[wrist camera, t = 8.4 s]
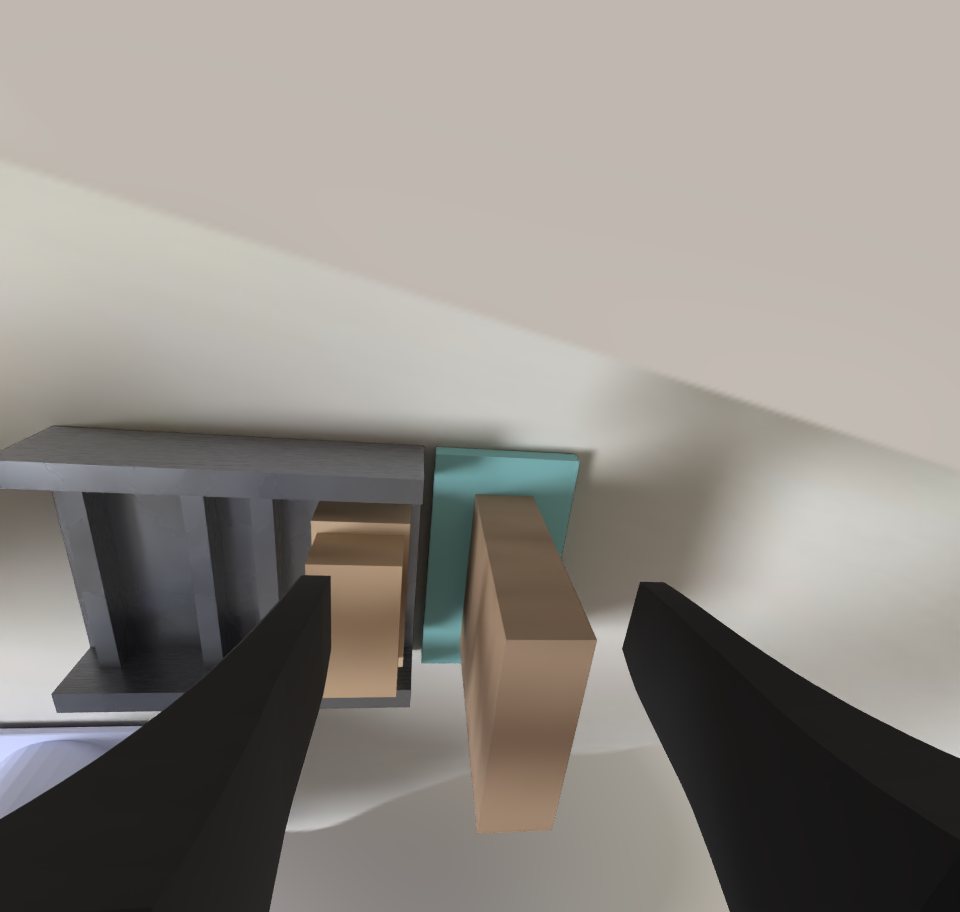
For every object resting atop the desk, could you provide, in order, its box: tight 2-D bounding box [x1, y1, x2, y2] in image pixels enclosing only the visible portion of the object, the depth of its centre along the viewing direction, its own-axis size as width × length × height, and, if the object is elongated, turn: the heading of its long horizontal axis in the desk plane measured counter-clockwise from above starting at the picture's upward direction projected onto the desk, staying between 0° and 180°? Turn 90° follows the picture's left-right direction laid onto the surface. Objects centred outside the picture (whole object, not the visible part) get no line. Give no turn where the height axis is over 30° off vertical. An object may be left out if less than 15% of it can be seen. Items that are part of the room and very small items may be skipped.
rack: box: [0, 426, 424, 713], centre depth 20 cm, size 11×14×3 cm
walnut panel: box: [460, 494, 597, 834], centre depth 19 cm, size 8×2×8 cm, turn 174°
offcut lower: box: [311, 501, 411, 667], centre depth 21 cm, size 7×4×2 cm, turn 174°
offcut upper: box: [305, 533, 404, 698], centre depth 19 cm, size 6×3×2 cm, turn 174°
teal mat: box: [421, 447, 580, 663], centre depth 23 cm, size 11×6×1 cm, turn 174°
